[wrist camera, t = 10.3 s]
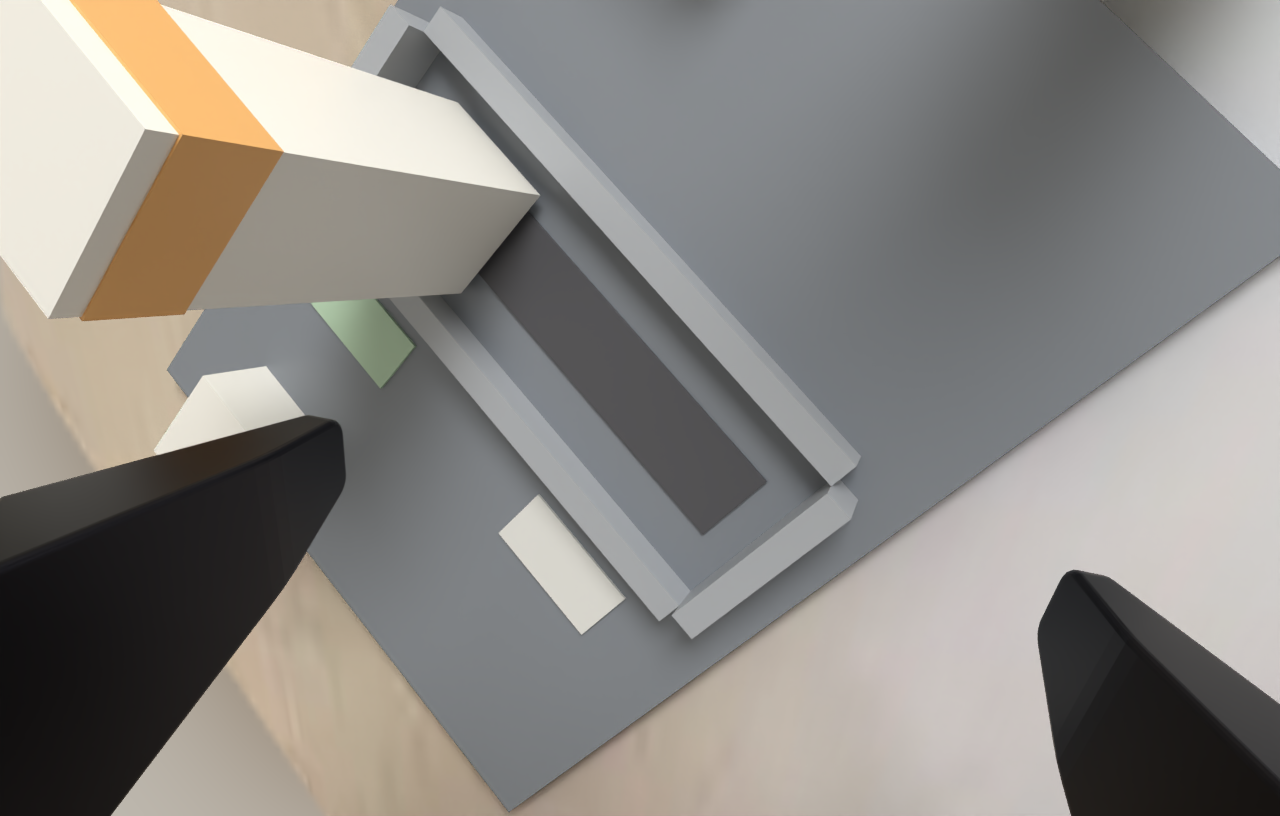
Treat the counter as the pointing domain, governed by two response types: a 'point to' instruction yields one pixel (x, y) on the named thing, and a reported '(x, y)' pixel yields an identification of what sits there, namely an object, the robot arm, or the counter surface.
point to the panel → (726, 324)
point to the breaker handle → (227, 169)
